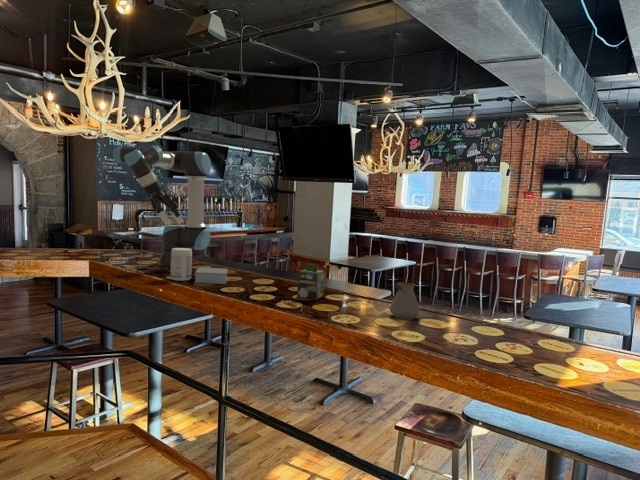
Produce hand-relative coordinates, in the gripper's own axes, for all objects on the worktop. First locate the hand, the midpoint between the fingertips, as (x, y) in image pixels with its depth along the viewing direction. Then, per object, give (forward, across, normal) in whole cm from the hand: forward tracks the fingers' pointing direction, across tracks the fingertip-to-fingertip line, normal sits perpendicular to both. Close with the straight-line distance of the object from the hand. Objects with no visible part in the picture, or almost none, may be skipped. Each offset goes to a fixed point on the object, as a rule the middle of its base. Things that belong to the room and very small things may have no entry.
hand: (174, 223), depth 206 cm
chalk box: (+47, +56, +11) cm, 74 cm away
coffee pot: (+53, +100, +12) cm, 114 cm away
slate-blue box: (+32, +6, -2) cm, 32 cm away
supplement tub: (+25, -2, -12) cm, 27 cm away
